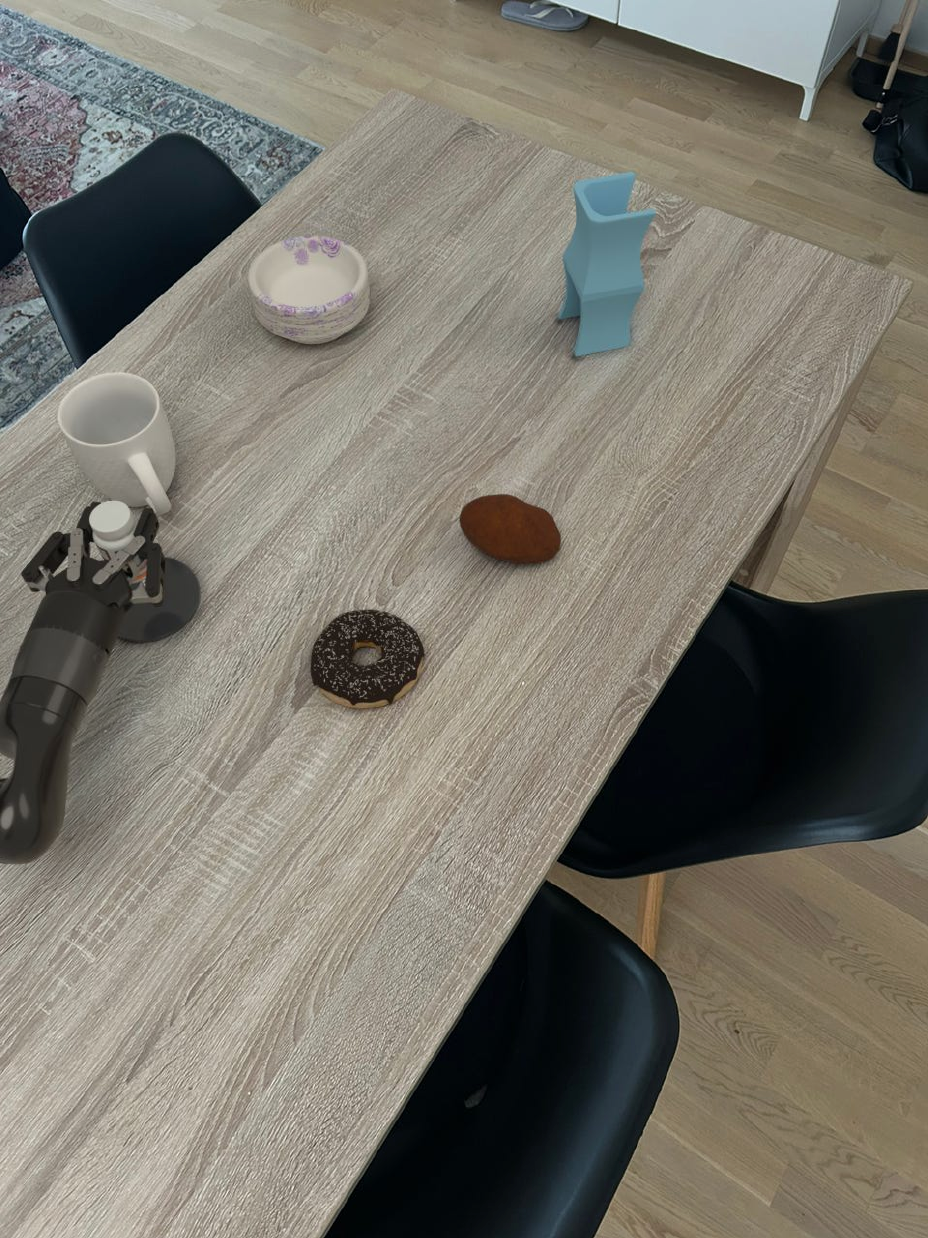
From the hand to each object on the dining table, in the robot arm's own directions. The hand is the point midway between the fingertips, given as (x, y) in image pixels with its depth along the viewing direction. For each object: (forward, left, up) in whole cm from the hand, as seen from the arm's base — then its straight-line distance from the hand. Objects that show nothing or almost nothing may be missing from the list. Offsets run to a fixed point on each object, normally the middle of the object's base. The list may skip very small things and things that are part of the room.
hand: (125, 510), depth 105 cm
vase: (+49, +43, -13) cm, 66 cm away
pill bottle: (0, -3, -6) cm, 7 cm away
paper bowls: (+12, +43, -13) cm, 46 cm away
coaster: (0, -2, -13) cm, 13 cm away
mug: (-4, +13, -13) cm, 18 cm away
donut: (+25, -9, -13) cm, 29 cm away
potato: (+39, +7, -13) cm, 41 cm away
